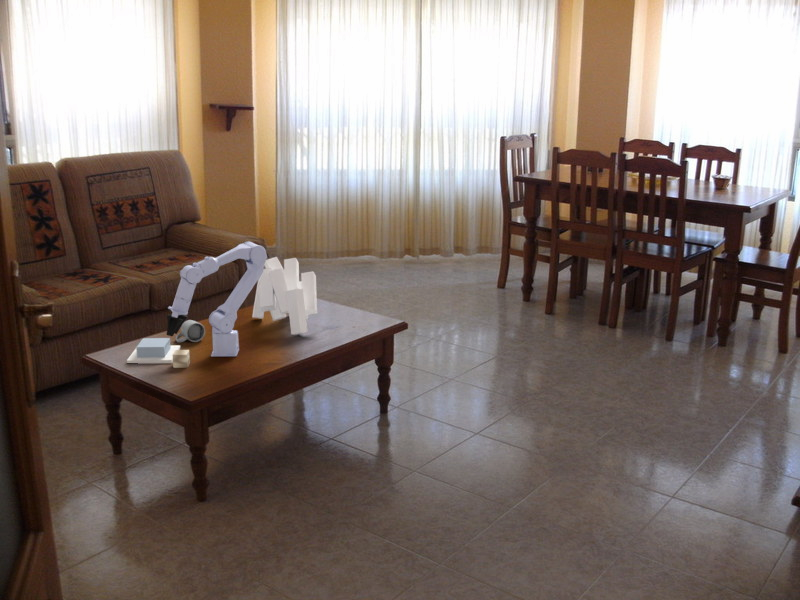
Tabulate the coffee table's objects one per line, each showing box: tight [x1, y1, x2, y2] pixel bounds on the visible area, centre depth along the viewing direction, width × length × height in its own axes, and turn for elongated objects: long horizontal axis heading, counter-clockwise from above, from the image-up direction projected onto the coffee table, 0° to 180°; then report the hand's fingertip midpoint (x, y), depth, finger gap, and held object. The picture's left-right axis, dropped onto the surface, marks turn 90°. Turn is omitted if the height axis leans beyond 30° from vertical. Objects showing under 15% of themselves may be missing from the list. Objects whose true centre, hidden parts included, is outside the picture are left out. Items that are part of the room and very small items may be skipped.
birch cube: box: [172, 349, 191, 369], centre depth 299 cm, size 5×5×5 cm
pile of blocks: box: [251, 256, 318, 335], centre depth 346 cm, size 35×30×35 cm
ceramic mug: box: [175, 319, 206, 344], centre depth 326 cm, size 11×8×8 cm
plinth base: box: [126, 337, 181, 364], centre depth 308 cm, size 16×16×5 cm
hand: (171, 334), depth 298 cm, fingers open, 7 cm apart
